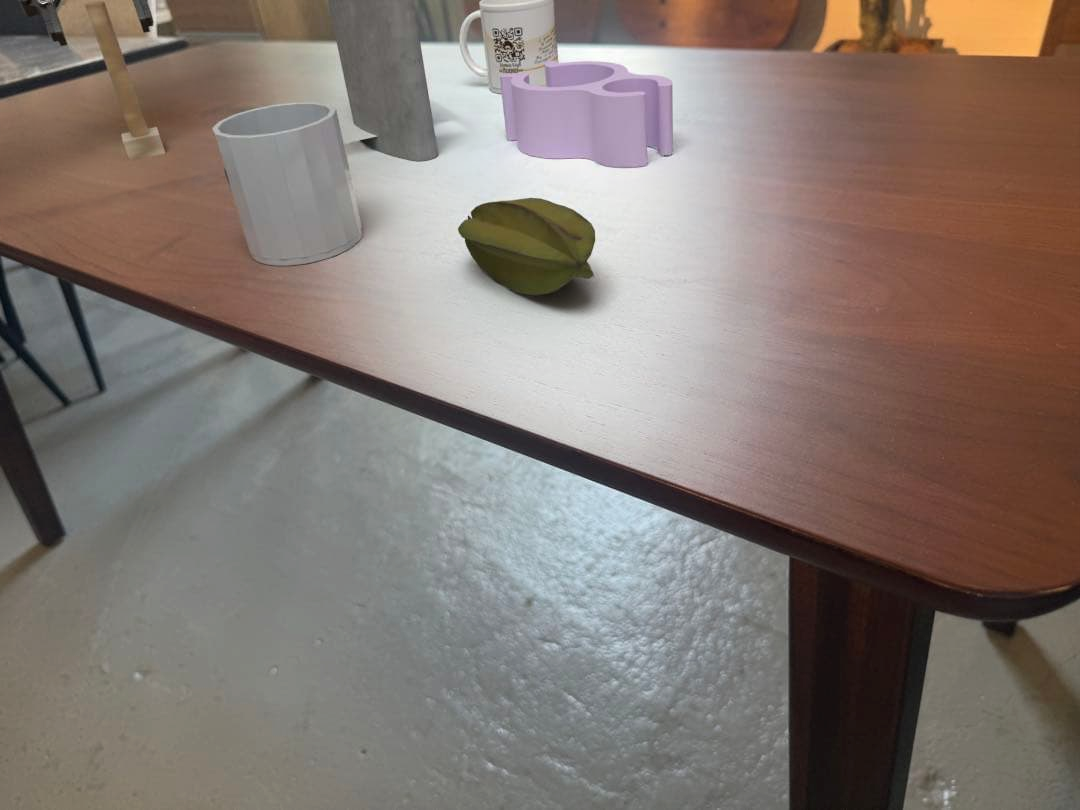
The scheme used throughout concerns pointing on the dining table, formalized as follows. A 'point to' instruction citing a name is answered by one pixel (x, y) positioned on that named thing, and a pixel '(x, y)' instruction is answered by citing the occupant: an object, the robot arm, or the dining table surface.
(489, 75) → the mug
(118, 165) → the dining table surface
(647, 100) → the clip
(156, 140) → the brush
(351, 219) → the canister
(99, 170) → the dining table surface
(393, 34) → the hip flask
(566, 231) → the fruit
